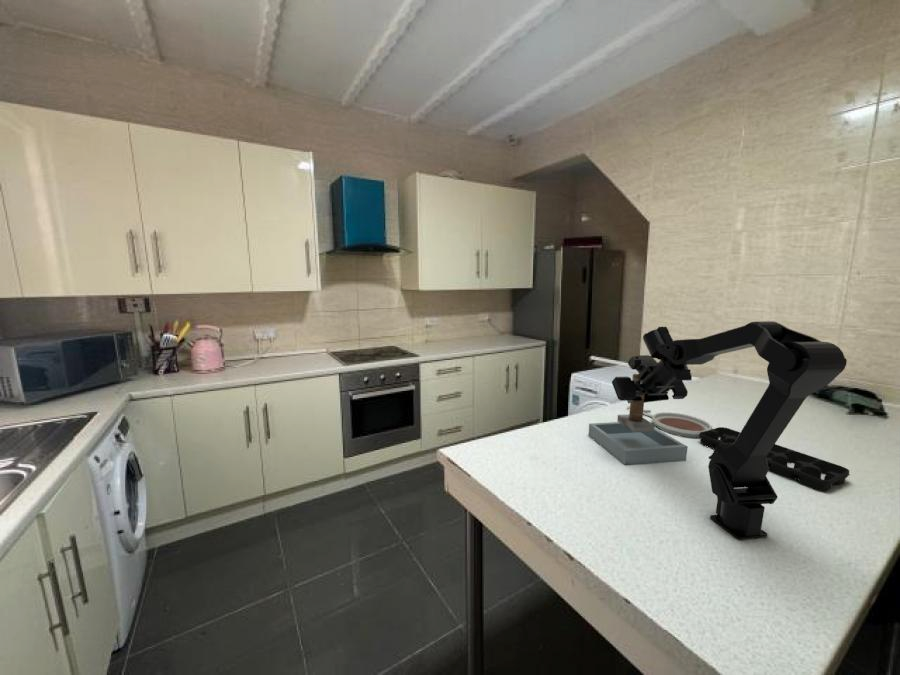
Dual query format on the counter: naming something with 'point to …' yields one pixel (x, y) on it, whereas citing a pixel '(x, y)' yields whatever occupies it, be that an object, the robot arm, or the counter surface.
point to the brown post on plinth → (636, 416)
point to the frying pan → (679, 423)
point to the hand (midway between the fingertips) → (634, 401)
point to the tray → (637, 444)
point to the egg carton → (778, 458)
